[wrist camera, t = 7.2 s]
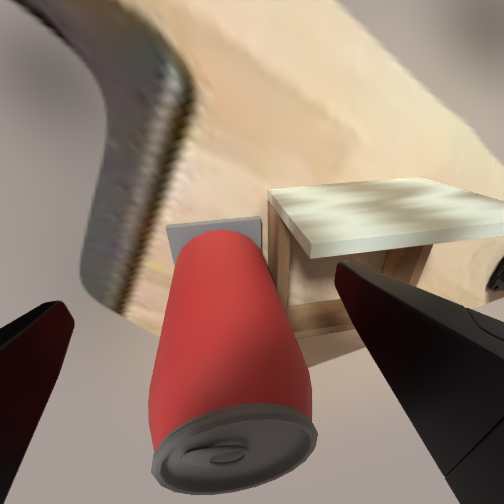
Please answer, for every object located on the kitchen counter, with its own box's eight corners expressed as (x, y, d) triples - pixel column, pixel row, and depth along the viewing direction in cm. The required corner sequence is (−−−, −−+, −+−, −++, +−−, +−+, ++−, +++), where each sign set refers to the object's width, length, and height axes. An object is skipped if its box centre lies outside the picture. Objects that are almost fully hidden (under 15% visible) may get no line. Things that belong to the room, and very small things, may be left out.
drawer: (420, 176, 18) (553, 216, 11) (381, 299, 24) (451, 373, 17) (267, 189, 16) (311, 244, 9) (268, 315, 22) (294, 404, 16)
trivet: (259, 216, 17) (260, 218, 17) (260, 291, 21) (261, 295, 20) (166, 225, 16) (165, 228, 16) (185, 301, 20) (184, 305, 19)
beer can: (191, 212, 16) (161, 398, 5) (277, 241, 18) (371, 413, 8) (166, 288, 18) (114, 508, 8) (243, 305, 21) (280, 495, 10)
